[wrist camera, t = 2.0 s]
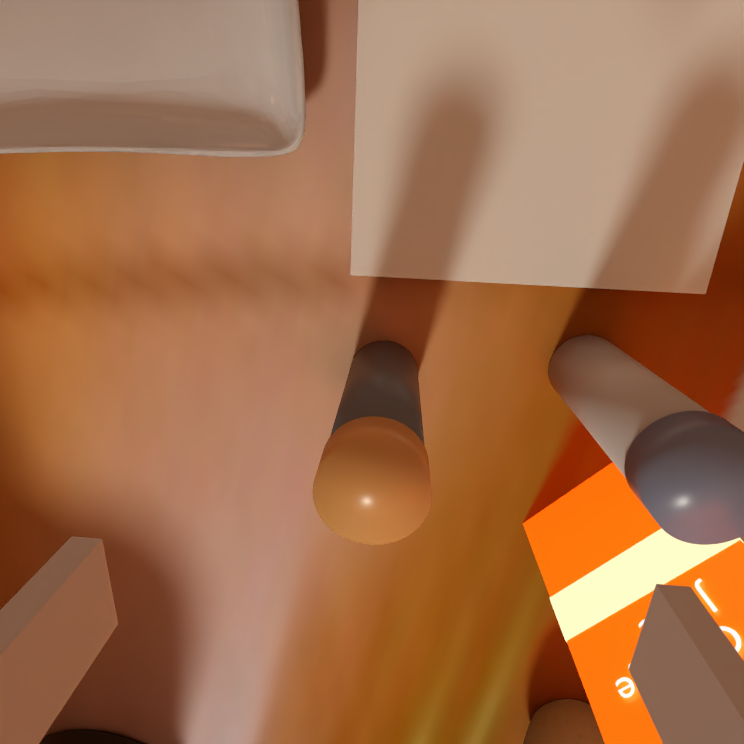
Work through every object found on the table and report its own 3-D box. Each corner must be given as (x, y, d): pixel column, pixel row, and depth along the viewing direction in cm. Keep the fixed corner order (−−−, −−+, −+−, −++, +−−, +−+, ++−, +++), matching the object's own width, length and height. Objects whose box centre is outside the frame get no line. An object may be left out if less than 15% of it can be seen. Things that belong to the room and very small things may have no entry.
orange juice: (520, 522, 30) (713, 1048, 12) (643, 438, 28) (1136, 933, 9) (594, 596, 32) (867, 1160, 13) (716, 522, 30) (1259, 1087, 11)
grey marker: (540, 398, 27) (638, 540, 16) (553, 330, 26) (668, 433, 15) (612, 403, 27) (760, 549, 16) (628, 335, 26) (802, 442, 15)
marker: (347, 402, 28) (312, 540, 17) (349, 336, 27) (312, 438, 16) (416, 407, 28) (426, 548, 17) (421, 341, 27) (437, 447, 15)
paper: (351, 273, 26) (350, 275, 25) (360, -27, 21) (359, -33, 21) (698, 291, 25) (705, 294, 24) (784, -14, 20) (795, -20, 20)
